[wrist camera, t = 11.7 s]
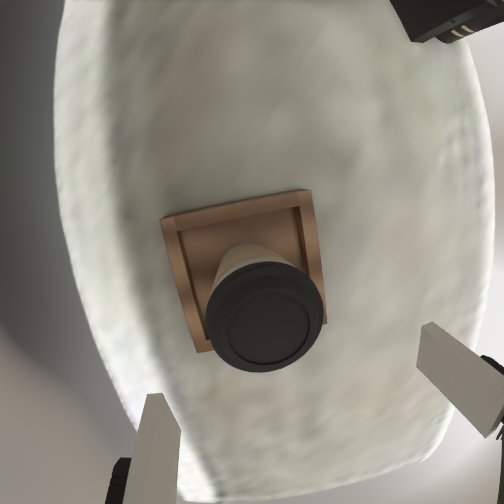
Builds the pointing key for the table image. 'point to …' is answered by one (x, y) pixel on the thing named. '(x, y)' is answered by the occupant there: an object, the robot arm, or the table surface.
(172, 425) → the robot arm
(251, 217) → the tray
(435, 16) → the light fixture
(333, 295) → the table surface
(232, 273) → the coffee cup
